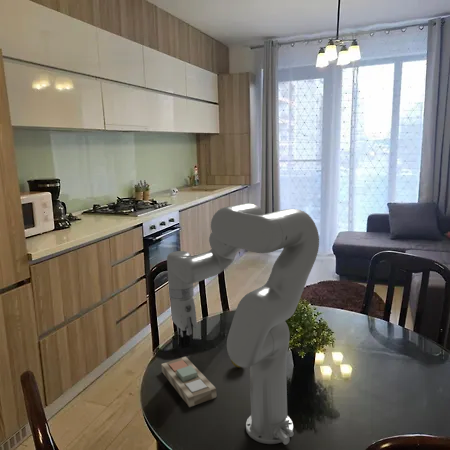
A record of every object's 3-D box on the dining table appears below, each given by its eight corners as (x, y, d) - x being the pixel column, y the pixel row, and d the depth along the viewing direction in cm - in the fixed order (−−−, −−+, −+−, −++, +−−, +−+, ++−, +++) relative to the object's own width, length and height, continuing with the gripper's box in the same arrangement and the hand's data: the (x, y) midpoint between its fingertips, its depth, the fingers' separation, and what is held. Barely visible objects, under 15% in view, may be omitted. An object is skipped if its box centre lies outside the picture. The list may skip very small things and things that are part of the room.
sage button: (197, 380, 131) (197, 372, 131) (183, 384, 129) (182, 377, 129) (191, 372, 136) (190, 365, 135) (177, 377, 133) (176, 369, 133)
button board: (216, 397, 125) (216, 388, 124) (189, 407, 121) (188, 397, 120) (186, 364, 145) (185, 356, 144) (162, 371, 141) (161, 363, 140)
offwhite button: (207, 394, 126) (207, 386, 125) (192, 400, 123) (192, 391, 123) (200, 386, 130) (200, 379, 129) (186, 391, 128) (185, 383, 127)
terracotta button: (189, 373, 138) (188, 366, 137) (175, 378, 135) (174, 370, 135) (183, 367, 142) (182, 360, 142) (169, 371, 140) (169, 364, 139)
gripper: (202, 296, 122) (205, 353, 126) (183, 282, 135) (186, 334, 139) (179, 301, 119) (182, 360, 122) (161, 287, 132) (164, 340, 135)
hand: (184, 346), depth 131 cm, fingers closed
